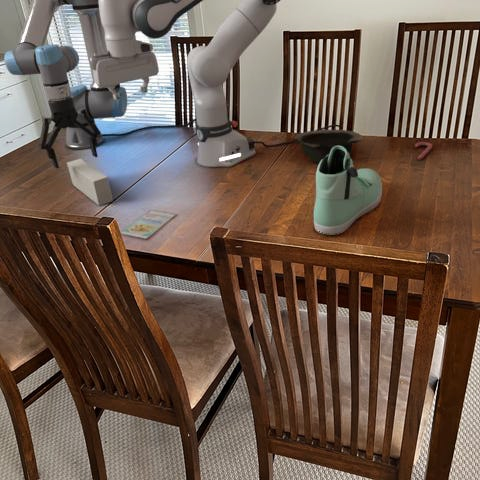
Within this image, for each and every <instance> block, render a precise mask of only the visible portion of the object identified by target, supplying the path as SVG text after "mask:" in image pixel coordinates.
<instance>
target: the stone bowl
mask: <svg viewBox="0 0 480 480" xmlns="http://www.w3.org/2000/svg"><path fill="white" fill-rule="evenodd" d="M363 139H365V137H364V136H363V135H362V134H360V133H358V132H355V131H352V130H346V129H323V130H318V131H317V129H315V130H308V131H304V132H299V133H297V134H295V135H294V137H293V138H292V141H296V142H295V143H298V144H301V149H302V152H303V153H304V155H305V156H307V157H308V158H309V160H310V162H311V163H313V164H319V163H320V161H321V160H322V159H324V158H325V157H326V156H327V155H329V154H330V152H331V149H332V148H333V147H334V146H342V147H344V148H345V149H346V150H347V152H348V153H349V156H350V157H351V154H352V150H353V144H355V143H359V142H360V141H362V140H363Z"/></svg>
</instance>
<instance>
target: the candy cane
mask: <svg viewBox="0 0 480 480" xmlns="http://www.w3.org/2000/svg"><path fill="white" fill-rule="evenodd" d="M433 146H434V145H433V144H432V143H430V142H428V141H420V142H419V141H418V142H416V143H415V144H414V148H415V149H418V148H419V147H426V148H425V149H424V150H423V151H422V152H421V153H420V154H419V155H418V156H417V159H418V161H420V160H423V158H424V157H425V156H426V155H428V153H429V152H430V151H431V150H432V149H433Z"/></svg>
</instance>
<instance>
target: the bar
mask: <svg viewBox="0 0 480 480" xmlns="http://www.w3.org/2000/svg"><path fill="white" fill-rule="evenodd" d="M66 165H67V168H68V171H69V175H70V179H71V183H72V185H73V187H75V188H77V190H78V191H80V192H81V193H83V195H85V196H87V197H88V198H89V199H90V200H91V201H93V202H94V203H95V204H96V205H98V206H103V205H106V204H108V203H110V202H113V201H114V200H113V195H112V191H111V187H110V182H109V178H108V177H109V176H107V175H105V174H104V173H103V172H101V171H99V170H98V169H96V168H95V167H94V166H92V165H90V164H89V163H87V162H86V161H85V160H83V159H82V158H78V159H74V160H70V161H67V162H66Z"/></svg>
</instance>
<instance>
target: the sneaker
mask: <svg viewBox="0 0 480 480" xmlns="http://www.w3.org/2000/svg"><path fill="white" fill-rule="evenodd" d="M317 165H318V166H317V168H316V172H315V201H314V207H313V225H314V229H315V231H316V232H318V233H320V234H323V235H326V236H327V235H328V236H336V235H339V234H342V233H344V232H345V231H347V230H348V229H349V228H350V227H351V226H352V225H353V224H354V222H356V221H357V220H358V219H359V218H360V217H362V216H363V215H365V214H367V213H370V212H372V210H374V209H375V208H377V207H378V205H380V203H381V200H382V196H383V184H382V183H383V182H382V179H381V176H380V175H379V173H378V172H377V171H376V170H374V169H372V168H367V167H365V168H358V169H357V168H355V167H354V161H353V159H352V158H351V155H350V156H349V153H348V152H347V150H346V149H345V148H344V147H342V146H334V147H333V148H332V149H331V152H330V154H329V155H327V156H326V157H325V158H324V159H322V160H321V161H320V163H318V164H317ZM343 230H344V231H343ZM319 231H320V232H319ZM322 232H323V233H322ZM339 232H340V233H339ZM326 233H327V234H326ZM328 233H329V234H328ZM335 233H337V234H335Z"/></svg>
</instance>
